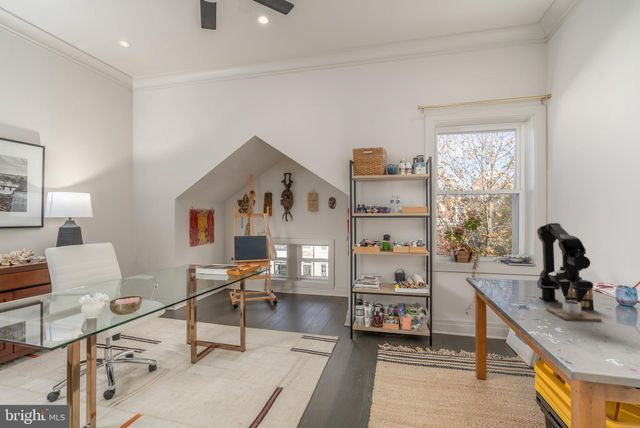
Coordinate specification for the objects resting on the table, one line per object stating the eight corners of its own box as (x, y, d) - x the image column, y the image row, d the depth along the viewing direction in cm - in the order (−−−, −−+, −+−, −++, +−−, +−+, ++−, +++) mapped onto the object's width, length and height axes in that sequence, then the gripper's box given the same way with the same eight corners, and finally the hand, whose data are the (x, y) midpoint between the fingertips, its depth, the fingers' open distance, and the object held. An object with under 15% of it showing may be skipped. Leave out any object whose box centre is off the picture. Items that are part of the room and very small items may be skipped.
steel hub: (559, 310, 138) (559, 300, 138) (575, 311, 136) (574, 300, 136) (568, 315, 131) (568, 304, 131) (584, 316, 130) (584, 304, 130)
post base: (546, 310, 142) (545, 298, 142) (579, 311, 139) (578, 299, 139) (564, 320, 128) (564, 307, 128) (601, 321, 126) (601, 308, 126)
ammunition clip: (565, 307, 146) (564, 283, 146) (564, 306, 148) (563, 282, 148) (594, 310, 140) (593, 285, 140) (593, 309, 141) (592, 284, 142)
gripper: (539, 262, 145) (540, 293, 144) (563, 268, 126) (565, 304, 126) (565, 262, 143) (566, 294, 142) (593, 269, 124) (594, 305, 124)
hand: (571, 299), depth 134 cm, fingers open, 9 cm apart
